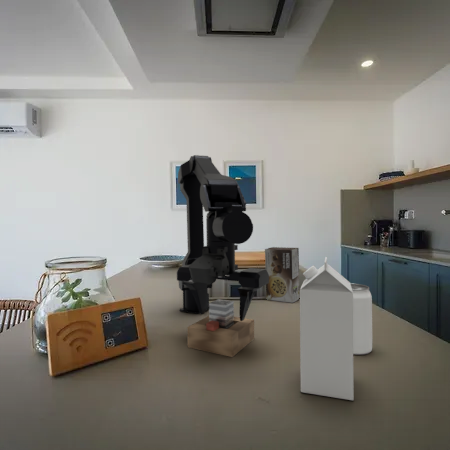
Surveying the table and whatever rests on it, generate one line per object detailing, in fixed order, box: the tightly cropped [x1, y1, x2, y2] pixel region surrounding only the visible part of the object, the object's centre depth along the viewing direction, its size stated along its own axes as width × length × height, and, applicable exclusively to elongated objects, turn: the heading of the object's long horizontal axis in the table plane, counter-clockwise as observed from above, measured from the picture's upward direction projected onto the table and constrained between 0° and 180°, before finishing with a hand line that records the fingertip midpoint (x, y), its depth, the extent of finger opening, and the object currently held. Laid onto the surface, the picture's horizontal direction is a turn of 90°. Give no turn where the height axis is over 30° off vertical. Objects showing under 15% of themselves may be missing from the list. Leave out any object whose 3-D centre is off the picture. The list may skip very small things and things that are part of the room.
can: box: [350, 283, 373, 356], centre depth 60 cm, size 6×6×12 cm
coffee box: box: [264, 246, 300, 304], centre depth 98 cm, size 9×6×16 cm
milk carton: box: [299, 256, 355, 401], centre depth 47 cm, size 7×7×19 cm
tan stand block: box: [186, 315, 255, 358], centre depth 64 cm, size 10×10×5 cm
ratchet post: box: [208, 298, 235, 329], centre depth 64 cm, size 4×4×8 cm
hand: (221, 317), depth 64 cm, fingers open, 9 cm apart
